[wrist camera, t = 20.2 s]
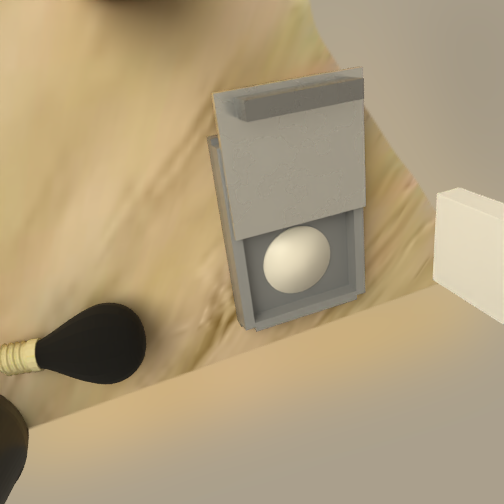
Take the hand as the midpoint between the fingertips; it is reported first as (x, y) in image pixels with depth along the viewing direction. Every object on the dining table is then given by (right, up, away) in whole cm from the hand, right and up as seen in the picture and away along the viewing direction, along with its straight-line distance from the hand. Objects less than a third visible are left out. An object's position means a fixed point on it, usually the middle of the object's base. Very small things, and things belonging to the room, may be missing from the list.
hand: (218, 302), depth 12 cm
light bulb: (-20, -8, +27) cm, 35 cm away
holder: (+4, +4, +33) cm, 34 cm away
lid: (+4, +9, +28) cm, 29 cm away
